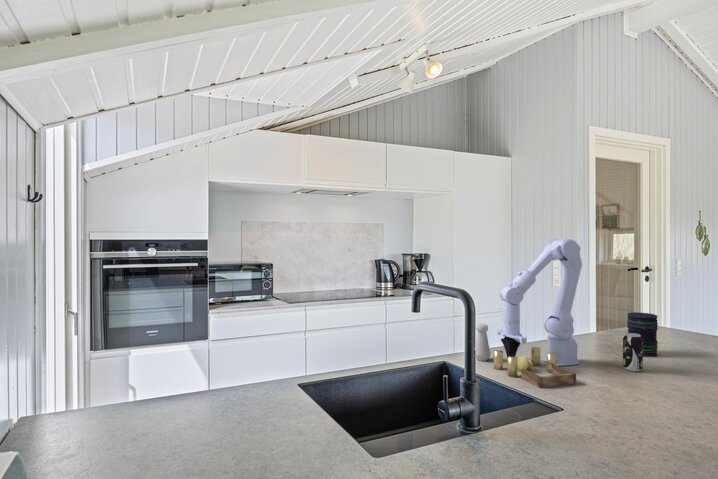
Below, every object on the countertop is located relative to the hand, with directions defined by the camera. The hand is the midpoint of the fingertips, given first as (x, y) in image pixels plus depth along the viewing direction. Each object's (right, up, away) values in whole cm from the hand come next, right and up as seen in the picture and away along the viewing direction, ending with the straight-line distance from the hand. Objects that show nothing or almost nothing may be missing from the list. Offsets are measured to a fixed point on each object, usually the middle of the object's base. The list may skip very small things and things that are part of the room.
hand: (511, 359), depth 156 cm
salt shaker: (-9, -2, +5) cm, 10 cm away
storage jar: (+55, -2, +13) cm, 56 cm away
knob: (+2, -2, -7) cm, 8 cm away
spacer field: (+2, -2, -7) cm, 8 cm away
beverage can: (+39, -2, -7) cm, 39 cm away
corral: (+5, -2, -18) cm, 19 cm away
